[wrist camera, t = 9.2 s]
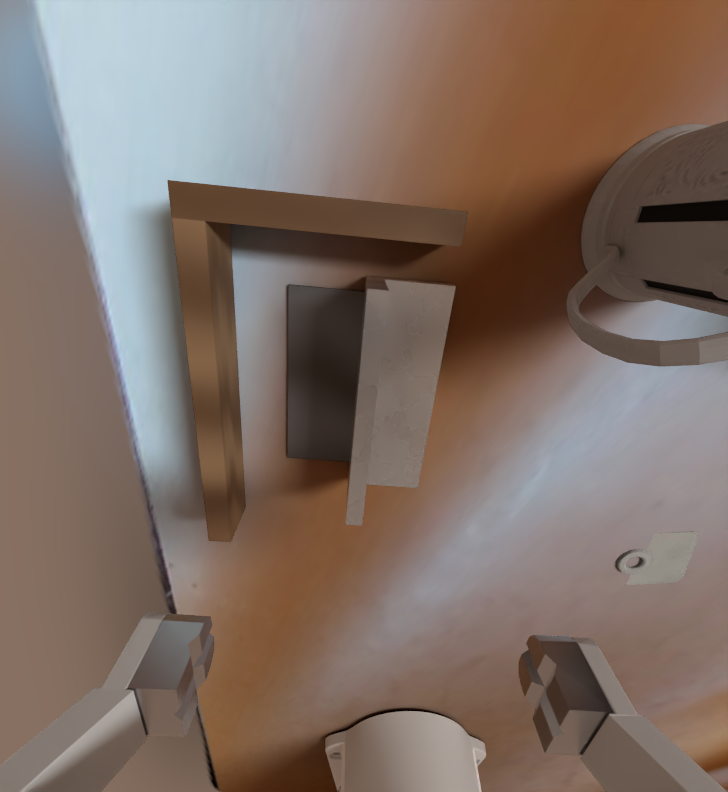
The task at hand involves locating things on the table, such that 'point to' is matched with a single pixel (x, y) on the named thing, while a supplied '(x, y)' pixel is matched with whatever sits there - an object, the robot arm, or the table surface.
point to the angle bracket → (395, 383)
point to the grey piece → (660, 559)
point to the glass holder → (660, 240)
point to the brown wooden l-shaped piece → (307, 324)
